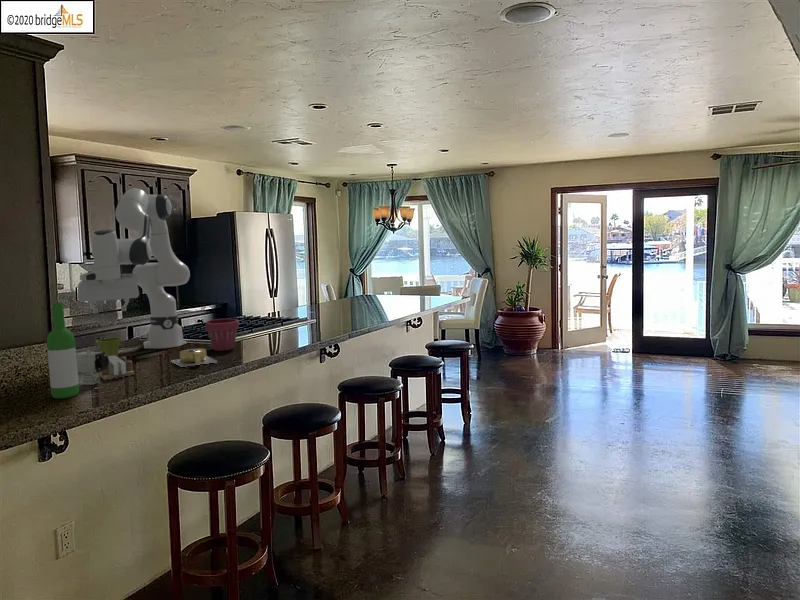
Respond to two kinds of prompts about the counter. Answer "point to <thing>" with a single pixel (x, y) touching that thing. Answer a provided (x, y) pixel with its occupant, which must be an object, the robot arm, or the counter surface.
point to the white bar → (116, 365)
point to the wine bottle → (62, 357)
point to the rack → (129, 371)
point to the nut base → (185, 364)
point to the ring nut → (193, 355)
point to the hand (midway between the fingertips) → (110, 312)
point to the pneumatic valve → (91, 365)
